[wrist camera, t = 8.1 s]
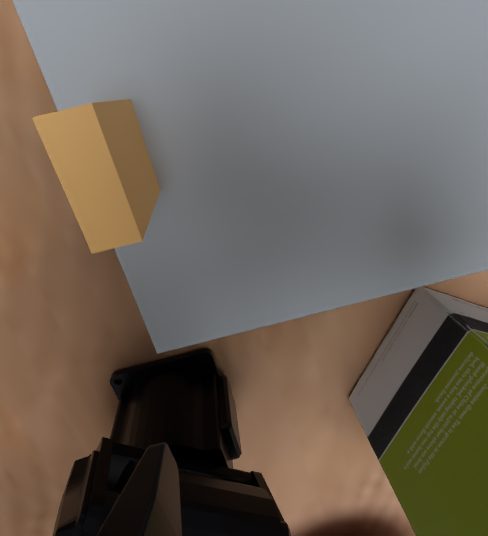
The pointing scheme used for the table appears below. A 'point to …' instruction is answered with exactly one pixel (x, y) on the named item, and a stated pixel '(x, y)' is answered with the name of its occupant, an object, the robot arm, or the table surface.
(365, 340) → the table surface
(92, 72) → the lid
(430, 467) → the tea box
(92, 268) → the table surface
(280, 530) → the robot arm
